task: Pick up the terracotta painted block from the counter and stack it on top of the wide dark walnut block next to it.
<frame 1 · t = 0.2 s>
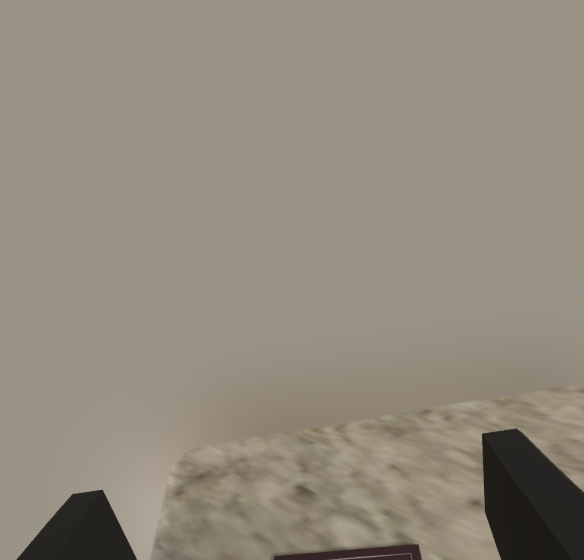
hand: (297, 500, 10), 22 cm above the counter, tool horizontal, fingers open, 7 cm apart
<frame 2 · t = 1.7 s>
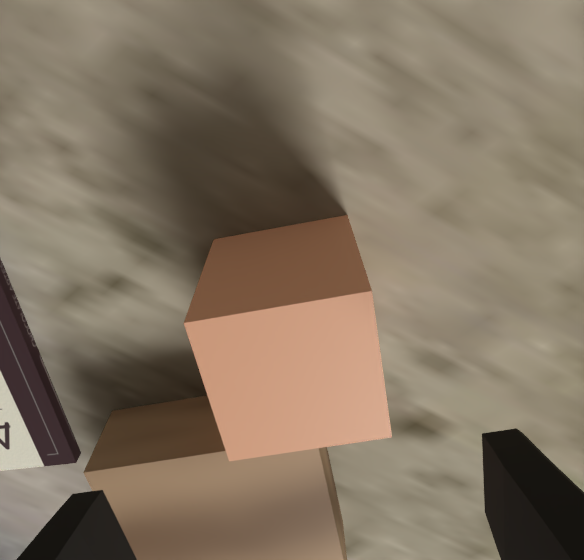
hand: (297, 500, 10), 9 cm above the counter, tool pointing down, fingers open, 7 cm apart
walnut base block: (235, 463, 22), on the counter
terracotta block: (292, 286, 18), on the counter
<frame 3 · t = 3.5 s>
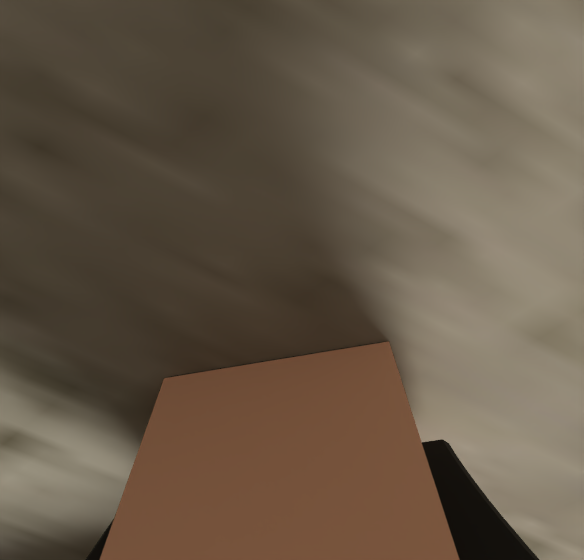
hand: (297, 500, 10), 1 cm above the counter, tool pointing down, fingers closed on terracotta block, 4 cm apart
terracotta block: (295, 445, 11), on the counter, touching gripper
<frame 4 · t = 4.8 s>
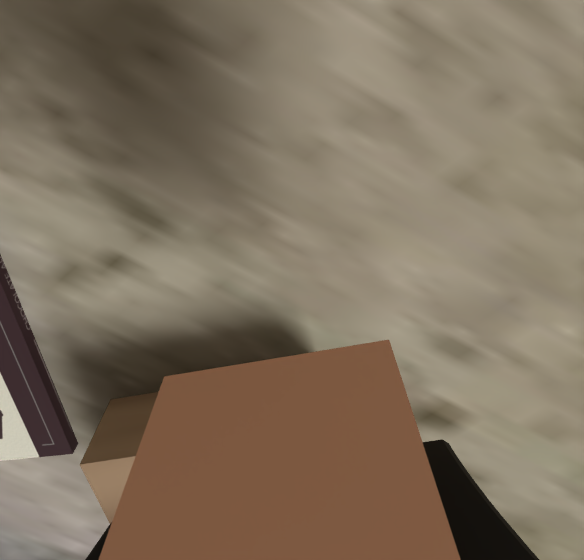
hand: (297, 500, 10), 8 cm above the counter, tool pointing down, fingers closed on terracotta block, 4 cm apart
walnut base block: (240, 455, 21), on the counter
terracotta block: (295, 443, 11), point 7 cm above the counter, touching gripper
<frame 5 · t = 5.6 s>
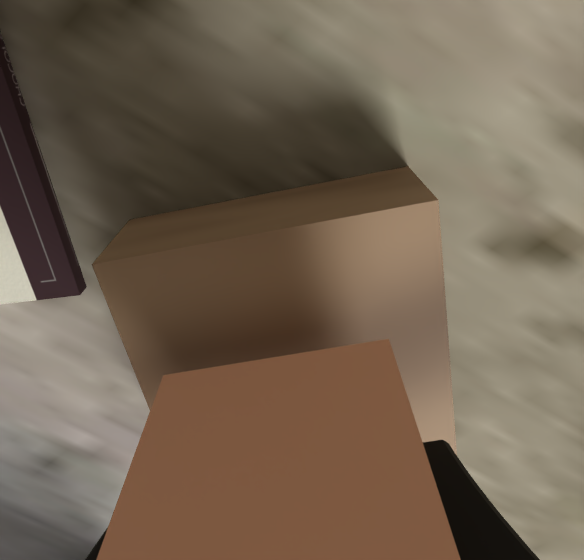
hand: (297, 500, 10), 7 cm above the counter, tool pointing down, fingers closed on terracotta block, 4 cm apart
walnut base block: (292, 309, 16), on the counter
terracotta block: (295, 443, 11), point 6 cm above the counter, touching gripper
when the fingers open (6 cm above the counter, at t = 6.3 s): terracotta block drops 1 cm, point 3 cm above the counter.
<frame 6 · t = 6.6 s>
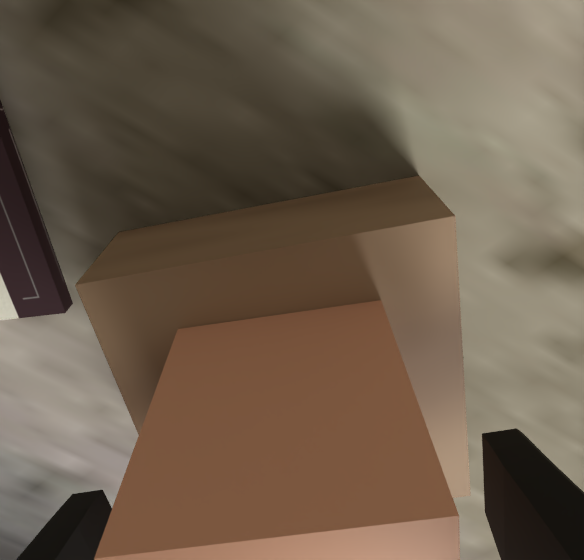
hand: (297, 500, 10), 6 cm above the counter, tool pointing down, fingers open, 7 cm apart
walnut base block: (294, 326, 15), on the counter
terracotta block: (294, 396, 12), point 3 cm above the counter
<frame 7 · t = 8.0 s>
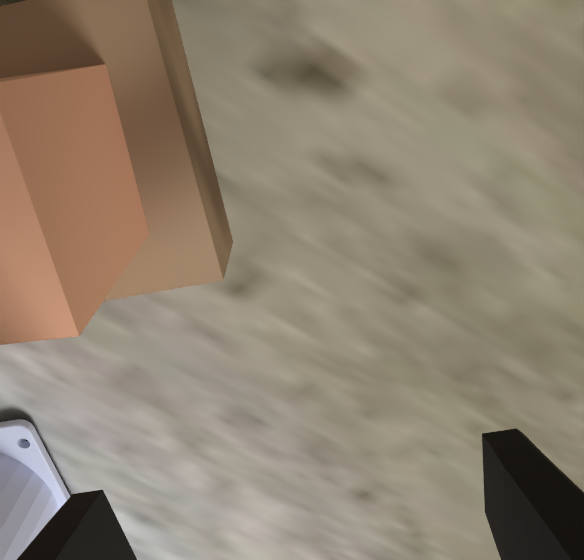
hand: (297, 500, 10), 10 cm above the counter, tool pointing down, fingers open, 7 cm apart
walnut base block: (88, 147, 17), on the counter, touching terracotta block
terracotta block: (47, 165, 14), point 3 cm above the counter, touching walnut base block
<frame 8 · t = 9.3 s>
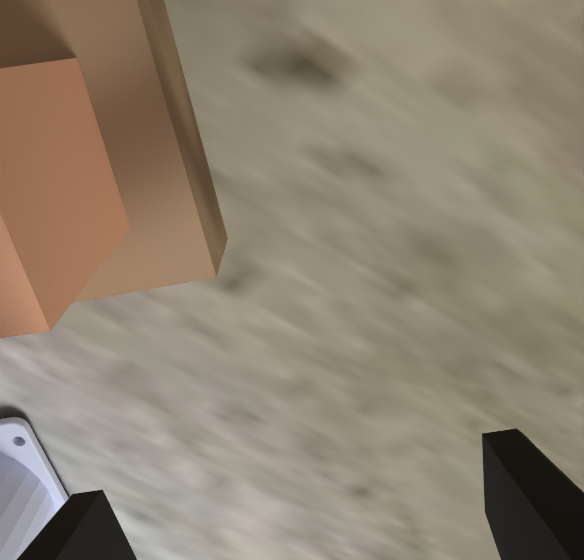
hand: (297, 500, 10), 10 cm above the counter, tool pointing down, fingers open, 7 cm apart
walnut base block: (81, 145, 17), on the counter, touching terracotta block
terracotta block: (24, 162, 14), point 3 cm above the counter, touching walnut base block
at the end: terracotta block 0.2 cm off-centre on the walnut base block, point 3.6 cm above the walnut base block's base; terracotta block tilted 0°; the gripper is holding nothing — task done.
